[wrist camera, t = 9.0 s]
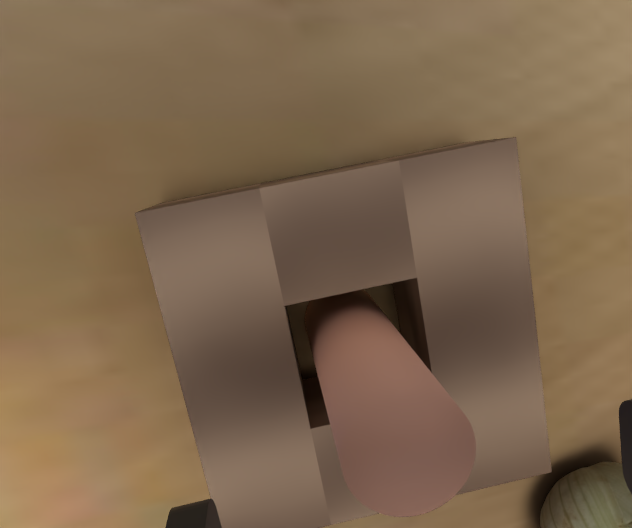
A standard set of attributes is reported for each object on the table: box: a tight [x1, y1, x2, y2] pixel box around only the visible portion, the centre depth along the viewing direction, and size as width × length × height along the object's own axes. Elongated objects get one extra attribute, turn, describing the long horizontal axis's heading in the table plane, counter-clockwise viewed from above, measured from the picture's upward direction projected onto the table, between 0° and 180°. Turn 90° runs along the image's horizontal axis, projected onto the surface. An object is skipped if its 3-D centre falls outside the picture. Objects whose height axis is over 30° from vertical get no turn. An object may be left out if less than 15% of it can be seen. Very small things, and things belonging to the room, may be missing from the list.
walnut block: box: [135, 137, 552, 528], centre depth 19 cm, size 12×12×4 cm
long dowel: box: [305, 289, 476, 517], centre depth 16 cm, size 3×3×10 cm
